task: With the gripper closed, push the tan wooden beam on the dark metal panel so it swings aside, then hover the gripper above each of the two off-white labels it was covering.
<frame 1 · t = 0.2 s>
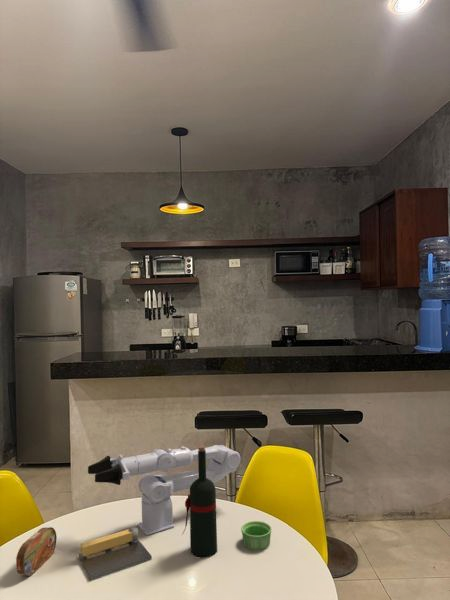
hand: (91, 474, 131), 21 cm above the table, tool horizontal, fingers open, 7 cm apart
ramekin: (256, 543, 131), on the table
wine bottle: (199, 550, 127), on the table
tan wooden beam: (110, 541, 128), point 3 cm above the table, hinge at 0.0°
tin: (37, 565, 122), on the table
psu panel: (114, 558, 124), on the table
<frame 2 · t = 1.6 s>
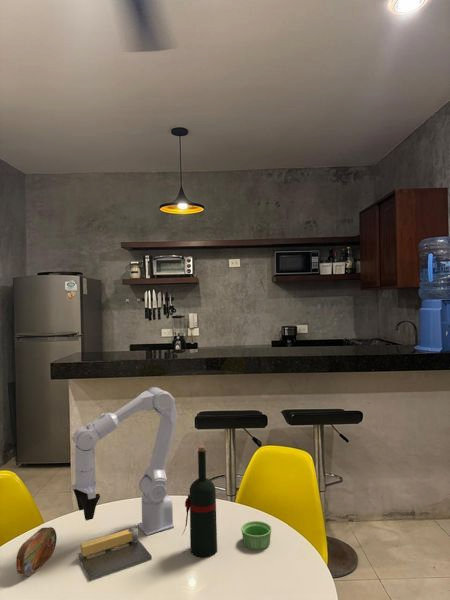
hand: (85, 514, 131), 9 cm above the table, tool pointing down, fingers open, 7 cm apart
nothing on the table moved.
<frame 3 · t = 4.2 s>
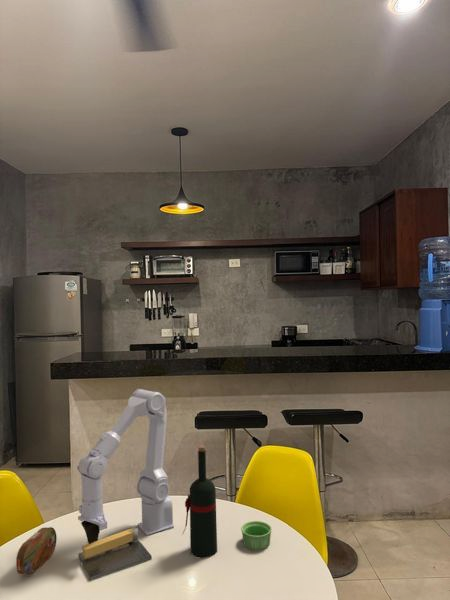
hand: (93, 545, 125), 3 cm above the table, tool pointing down, fingers closed, pressing on tan wooden beam
tan wooden beam: (111, 542, 127), point 3 cm above the table, hinge at 6.0°, touching gripper
everything else where it was.
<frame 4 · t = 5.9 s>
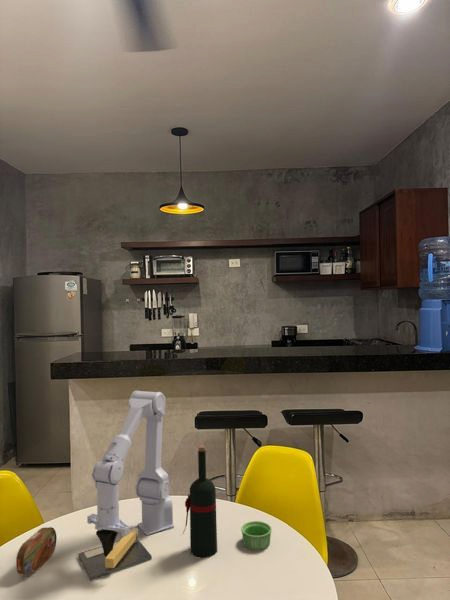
hand: (108, 554, 120), 3 cm above the table, tool pointing down, fingers closed, pressing on tan wooden beam
tan wooden beam: (123, 546, 125), point 3 cm above the table, hinge at 45.4°, touching gripper
everything else where it was.
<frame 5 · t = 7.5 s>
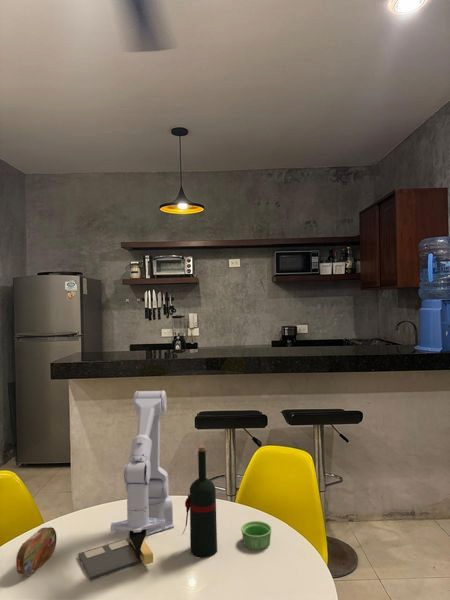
hand: (138, 556, 120), 3 cm above the table, tool pointing down, fingers closed, pressing on tan wooden beam
tan wooden beam: (139, 544, 125), point 3 cm above the table, hinge at 85.8°, touching gripper
everything else where it was.
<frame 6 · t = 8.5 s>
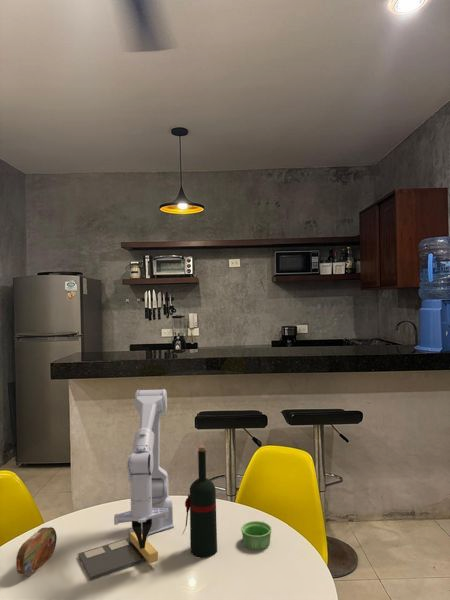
hand: (142, 546, 120), 6 cm above the table, tool pointing down, fingers closed
tan wooden beam: (142, 544, 126), point 3 cm above the table, hinge at 91.3°
everything else where it was.
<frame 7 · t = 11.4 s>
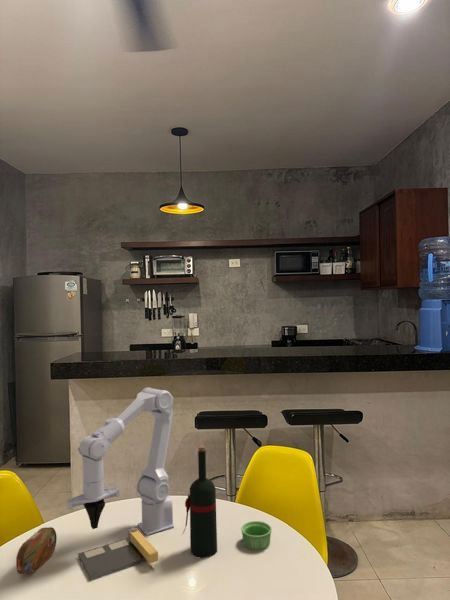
hand: (94, 527, 125), 8 cm above the table, tool pointing down, fingers closed
nothing on the table moved.
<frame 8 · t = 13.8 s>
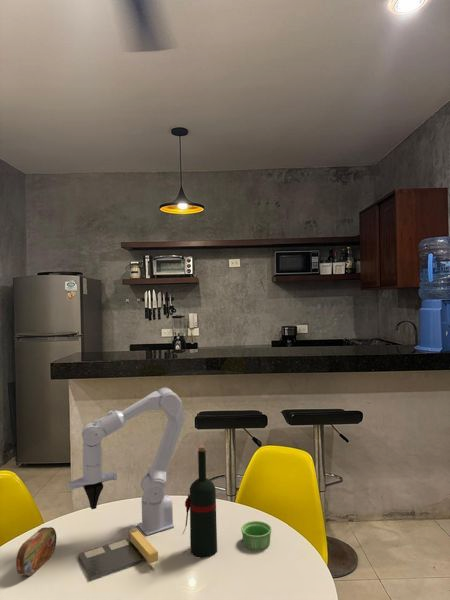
hand: (93, 507, 135), 9 cm above the table, tool pointing down, fingers closed
nothing on the table moved.
at the end: tan wooden beam at +91° (first picture: +0°); tin moved 0.3 cm from its start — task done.
